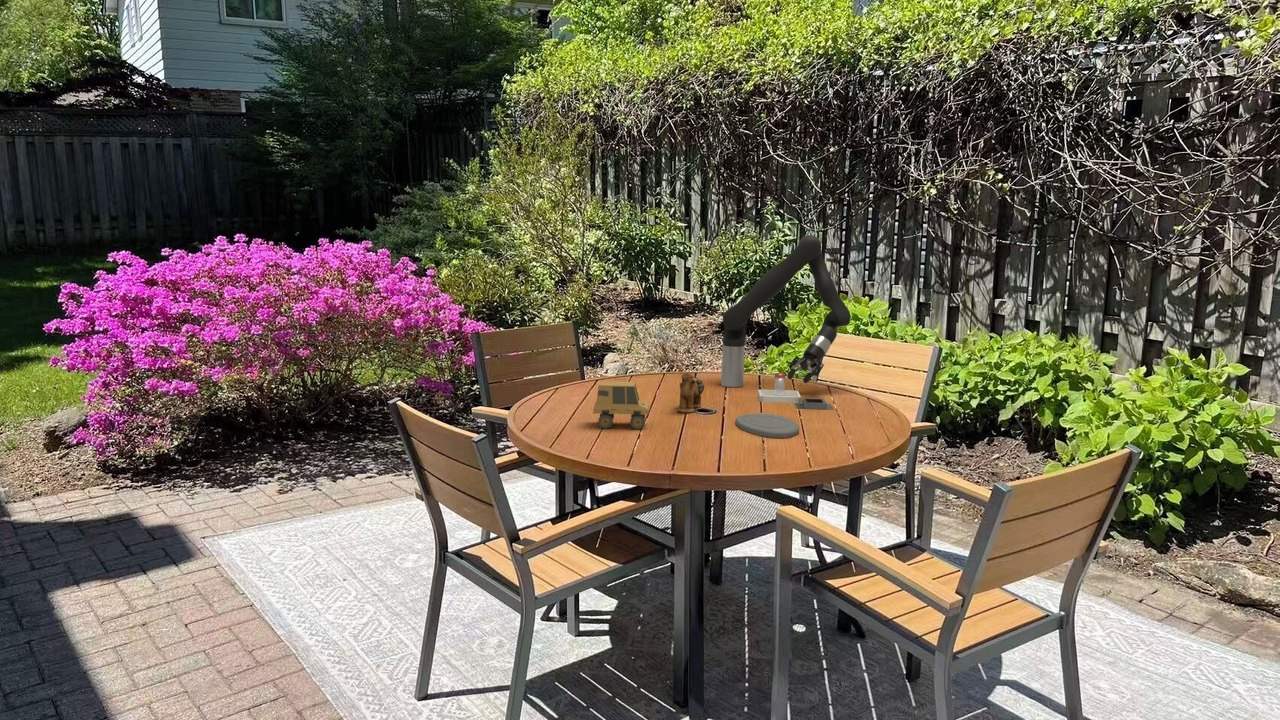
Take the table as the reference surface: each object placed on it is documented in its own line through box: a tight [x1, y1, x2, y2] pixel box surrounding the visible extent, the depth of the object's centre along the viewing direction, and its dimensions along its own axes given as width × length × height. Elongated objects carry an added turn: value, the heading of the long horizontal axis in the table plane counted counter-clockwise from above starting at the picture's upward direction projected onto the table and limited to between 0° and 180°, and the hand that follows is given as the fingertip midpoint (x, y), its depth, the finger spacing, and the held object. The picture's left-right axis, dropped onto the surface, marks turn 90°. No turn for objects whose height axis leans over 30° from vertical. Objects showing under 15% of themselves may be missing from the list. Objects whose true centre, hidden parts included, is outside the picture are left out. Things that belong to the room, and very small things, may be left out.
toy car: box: [593, 380, 650, 430], centre depth 304 cm, size 10×19×15 cm, turn 89°
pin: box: [773, 372, 786, 396], centre depth 345 cm, size 4×4×10 cm
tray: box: [757, 389, 802, 404], centre depth 346 cm, size 16×12×3 cm
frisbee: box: [735, 412, 800, 439], centre depth 306 cm, size 20×27×3 cm
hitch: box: [793, 397, 835, 411], centre depth 334 cm, size 14×9×3 cm, turn 87°
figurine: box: [677, 372, 705, 414], centre depth 327 cm, size 9×15×15 cm, turn 159°
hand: (796, 380), depth 350 cm, fingers open, 8 cm apart
